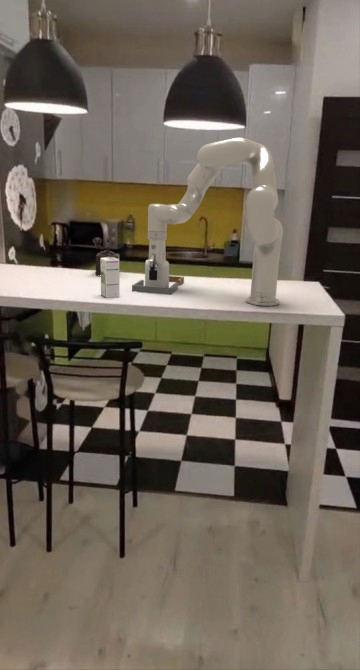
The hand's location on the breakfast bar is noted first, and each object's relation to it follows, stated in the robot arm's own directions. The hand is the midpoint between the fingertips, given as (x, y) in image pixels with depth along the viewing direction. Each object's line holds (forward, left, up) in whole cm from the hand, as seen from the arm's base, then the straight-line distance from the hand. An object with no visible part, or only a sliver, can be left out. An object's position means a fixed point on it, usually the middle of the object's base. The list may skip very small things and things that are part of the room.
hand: (156, 278), depth 207 cm
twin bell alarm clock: (+24, +30, -5) cm, 39 cm away
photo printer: (+3, 0, -5) cm, 6 cm away
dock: (+16, 0, -5) cm, 17 cm away
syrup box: (-19, +13, -5) cm, 24 cm away
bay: (0, 0, -5) cm, 5 cm away
